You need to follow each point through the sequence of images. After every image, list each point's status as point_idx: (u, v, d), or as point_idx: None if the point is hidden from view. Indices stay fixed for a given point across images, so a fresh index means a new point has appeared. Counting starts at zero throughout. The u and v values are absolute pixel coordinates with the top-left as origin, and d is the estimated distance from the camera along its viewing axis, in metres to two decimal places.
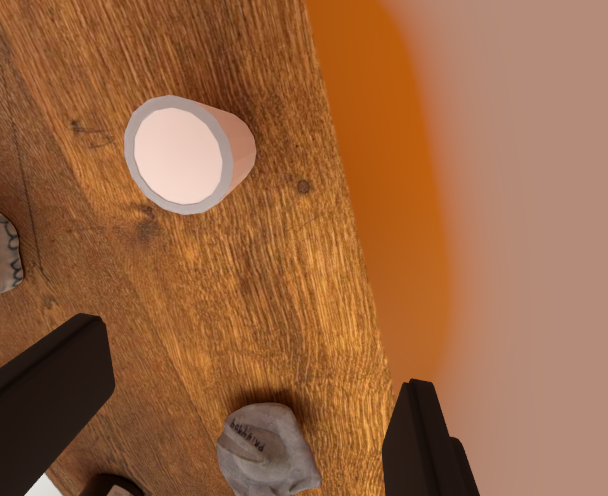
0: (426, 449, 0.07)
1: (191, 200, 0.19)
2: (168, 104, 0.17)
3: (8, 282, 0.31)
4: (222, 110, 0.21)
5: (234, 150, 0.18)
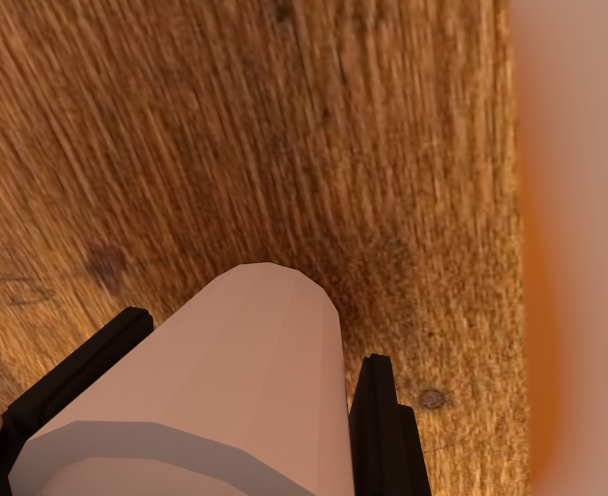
0: (374, 411, 0.07)
1: None
2: (145, 447, 0.05)
3: None
4: (289, 306, 0.09)
5: None
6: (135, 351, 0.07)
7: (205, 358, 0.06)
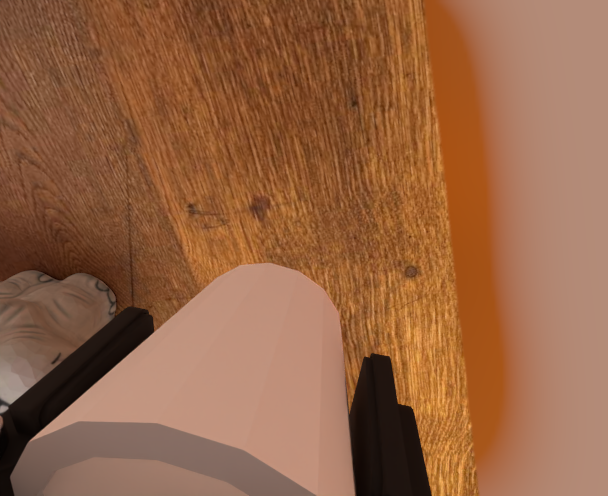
0: (374, 410, 0.07)
1: None
2: (147, 447, 0.05)
3: None
4: (290, 306, 0.09)
5: None
6: (136, 352, 0.07)
7: (206, 359, 0.06)
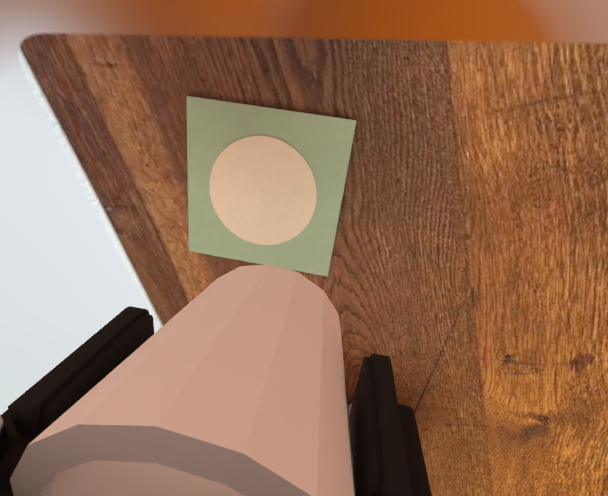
0: (374, 410, 0.07)
1: None
2: (146, 450, 0.05)
3: None
4: (289, 308, 0.09)
5: None
6: (136, 354, 0.07)
7: (206, 361, 0.06)
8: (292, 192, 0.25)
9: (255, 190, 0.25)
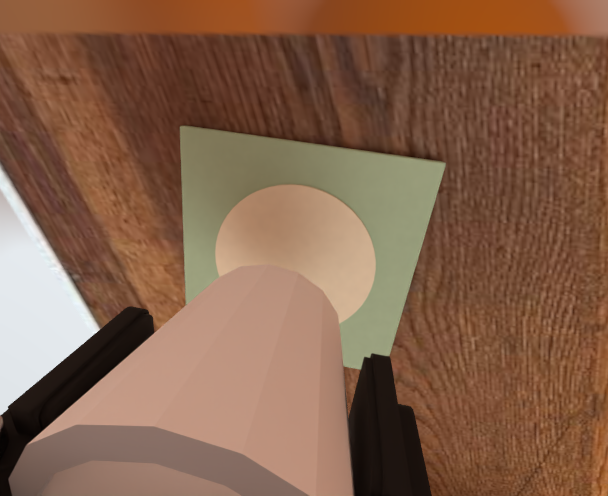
0: (374, 411, 0.07)
1: None
2: (145, 450, 0.05)
3: None
4: (288, 308, 0.09)
5: None
6: (135, 354, 0.07)
7: (205, 361, 0.06)
8: (338, 265, 0.17)
9: (283, 261, 0.17)
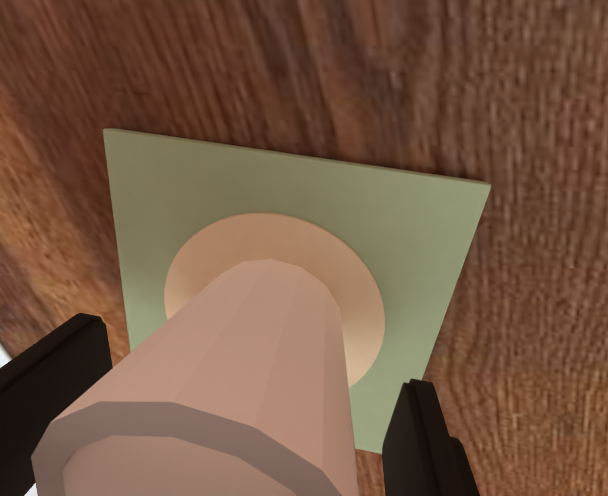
0: (426, 449, 0.07)
1: None
2: (163, 425, 0.05)
3: None
4: (293, 299, 0.09)
5: None
6: (147, 341, 0.07)
7: (216, 346, 0.06)
8: None
9: None
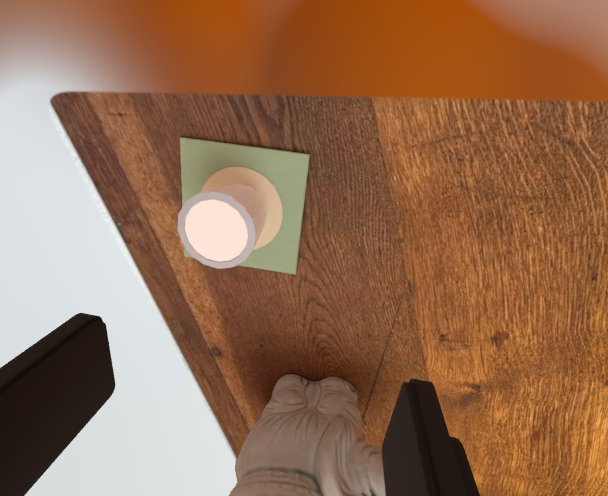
0: (426, 449, 0.07)
1: (224, 259, 0.27)
2: (211, 197, 0.25)
3: None
4: (244, 189, 0.29)
5: (255, 225, 0.26)
6: None
7: (221, 189, 0.26)
8: None
9: None
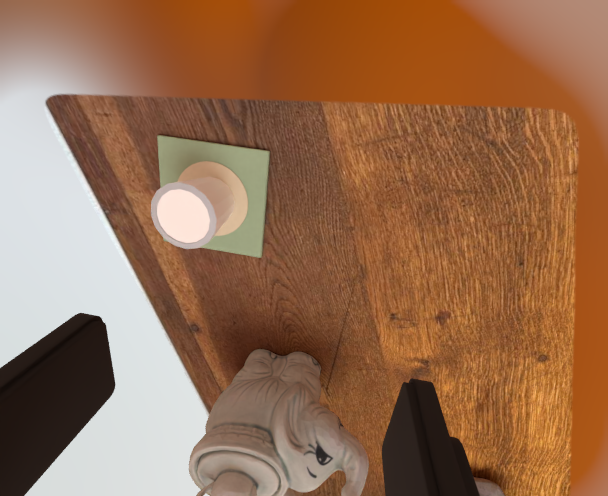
0: (426, 449, 0.07)
1: (191, 240, 0.32)
2: (178, 187, 0.30)
3: None
4: (211, 181, 0.33)
5: (217, 212, 0.31)
6: None
7: (188, 181, 0.31)
8: None
9: None
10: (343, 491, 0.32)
